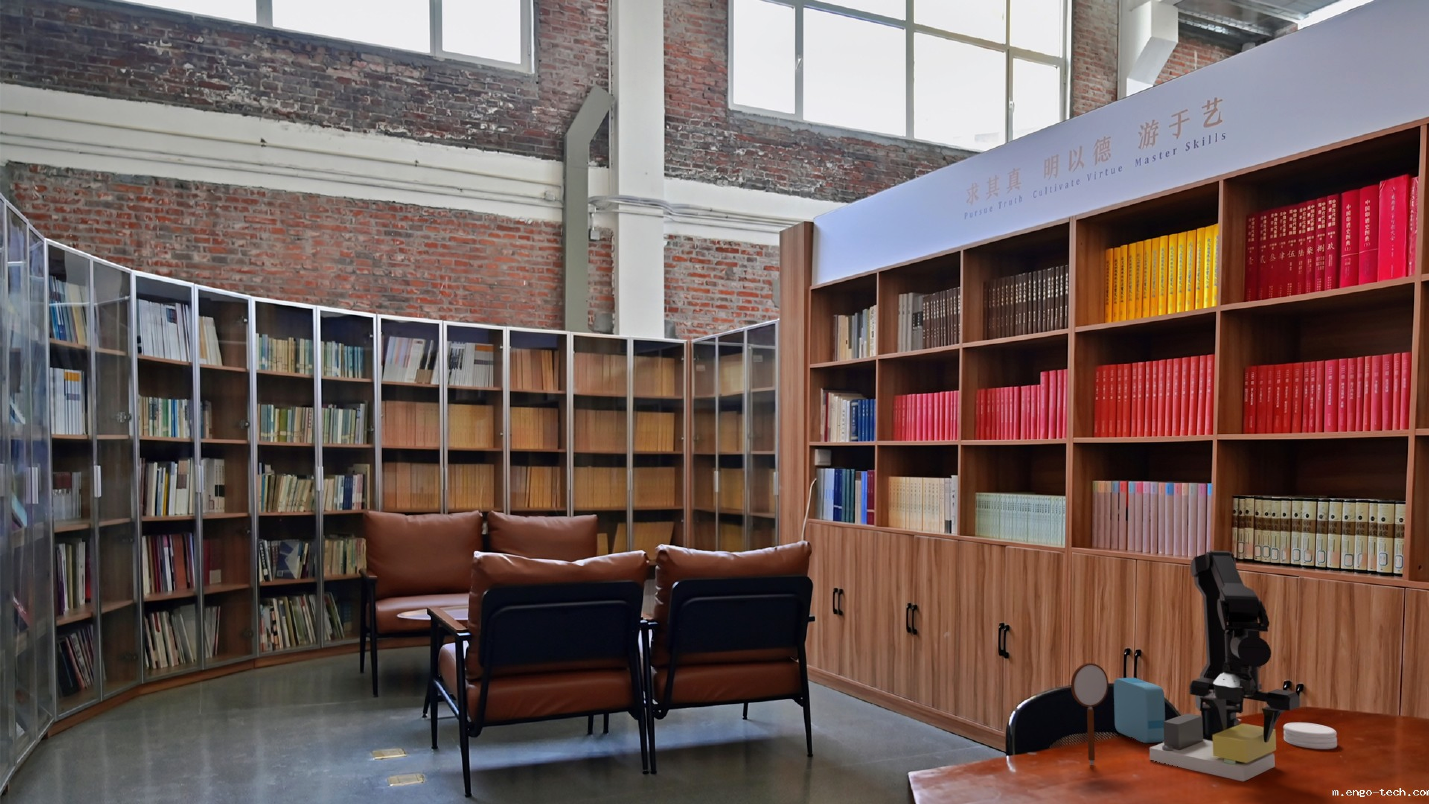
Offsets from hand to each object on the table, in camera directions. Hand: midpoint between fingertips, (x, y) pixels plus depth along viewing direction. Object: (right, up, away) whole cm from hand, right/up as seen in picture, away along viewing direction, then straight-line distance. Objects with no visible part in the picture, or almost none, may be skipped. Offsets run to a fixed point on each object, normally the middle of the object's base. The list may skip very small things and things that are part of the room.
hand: (1244, 737), depth 195 cm
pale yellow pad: (0, -3, 0) cm, 3 cm away
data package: (-11, -8, +23) cm, 27 cm away
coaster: (+24, -8, +19) cm, 32 cm away
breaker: (-8, -4, +9) cm, 13 cm away
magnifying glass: (-29, -6, +2) cm, 30 cm away
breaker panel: (-5, -6, +3) cm, 9 cm away
